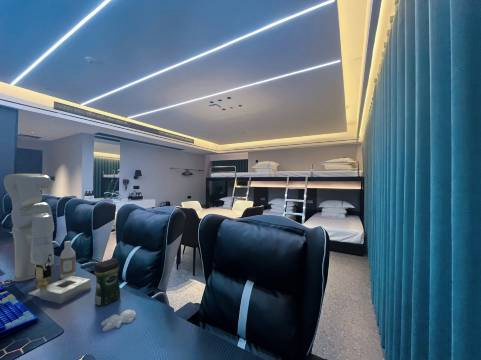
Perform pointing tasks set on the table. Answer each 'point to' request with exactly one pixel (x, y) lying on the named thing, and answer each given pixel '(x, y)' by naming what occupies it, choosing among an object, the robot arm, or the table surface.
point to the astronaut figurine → (118, 319)
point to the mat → (35, 293)
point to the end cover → (41, 278)
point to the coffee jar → (107, 282)
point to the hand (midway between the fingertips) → (43, 276)
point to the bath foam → (67, 261)
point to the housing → (64, 289)
